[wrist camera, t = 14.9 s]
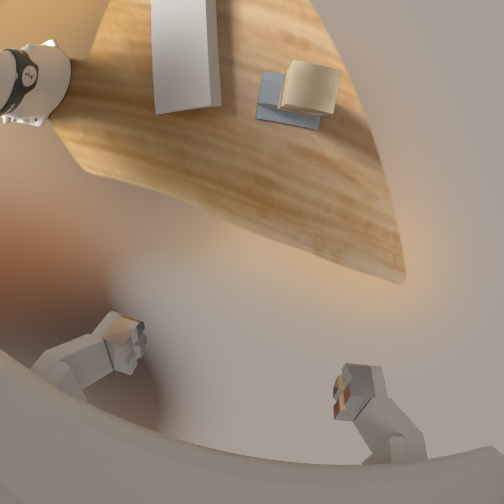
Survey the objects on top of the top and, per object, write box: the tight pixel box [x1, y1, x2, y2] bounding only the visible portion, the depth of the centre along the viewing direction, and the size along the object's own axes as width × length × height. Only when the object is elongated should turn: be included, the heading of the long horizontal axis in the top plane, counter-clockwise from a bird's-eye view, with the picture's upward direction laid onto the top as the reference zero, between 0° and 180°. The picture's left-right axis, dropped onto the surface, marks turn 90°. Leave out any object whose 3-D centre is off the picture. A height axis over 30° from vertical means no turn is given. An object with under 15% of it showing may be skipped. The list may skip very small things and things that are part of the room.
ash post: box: [277, 60, 341, 116], centre depth 28 cm, size 4×4×13 cm
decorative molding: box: [151, 0, 222, 115], centre depth 33 cm, size 34×5×10 cm
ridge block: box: [256, 71, 330, 130], centre depth 37 cm, size 10×8×7 cm
